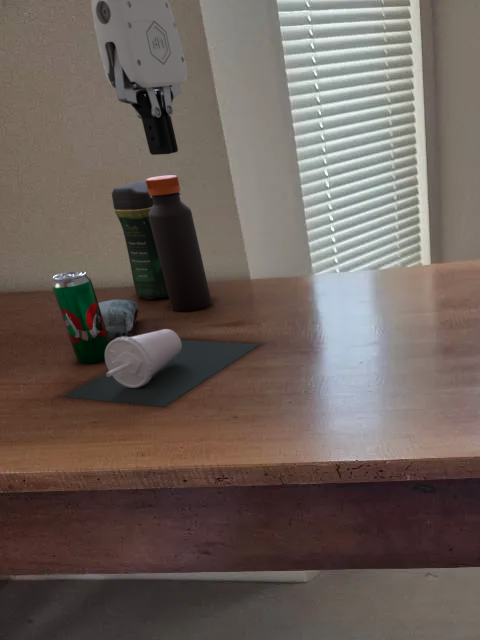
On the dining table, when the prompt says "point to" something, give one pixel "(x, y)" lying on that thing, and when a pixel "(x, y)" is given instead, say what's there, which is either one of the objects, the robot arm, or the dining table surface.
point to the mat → (168, 375)
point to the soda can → (81, 316)
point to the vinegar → (177, 245)
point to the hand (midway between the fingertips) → (164, 153)
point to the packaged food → (119, 317)
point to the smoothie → (140, 356)
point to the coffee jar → (140, 238)
